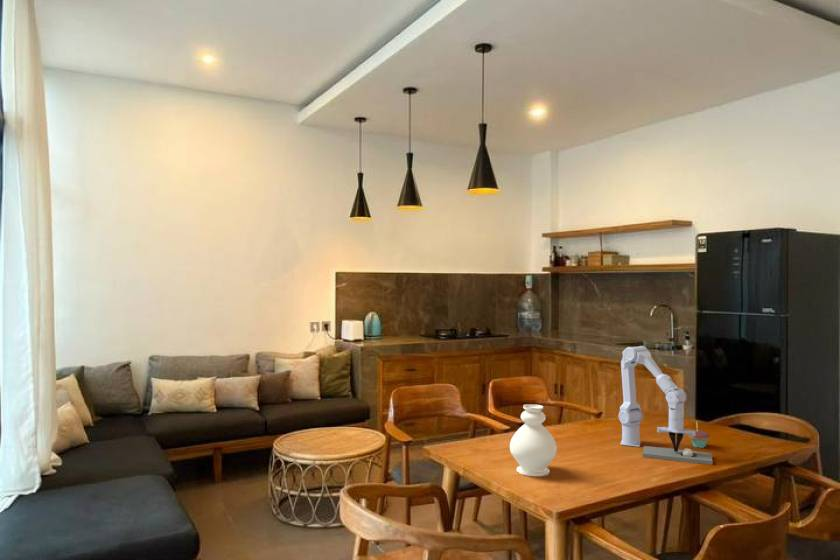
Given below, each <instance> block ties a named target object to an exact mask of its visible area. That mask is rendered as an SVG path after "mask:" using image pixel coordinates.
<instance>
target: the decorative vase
mask: <svg viewBox="0 0 840 560" xmlns="http://www.w3.org/2000/svg"><path fill="white" fill-rule="evenodd" d="M522 408H523V409H524V410H523V411H522V412H521V414H520V419H521V421H522V422H523V425H521V426H520V427H519V428H518V429H517V430H516V432H515V433H514V434H513V436H512V437H511V439H510V443H509V452H510V453H511V455H512V457H513V459H514V460H515V461H516V462H517V464H518V465H519V466H517V467H516V472H517V473H518V472H519V474H520V475H524V476H527V477H545V476H548V475H549V474H550V471H551V470H550V468H549V467H548V465H550V463H551V462H552V461H554V458H555V457H556V455H557V450H558V447H557V442H556V440H555V438H554V437H553V435H552V434H551V433H550V431H549V430H547V428H546V427H545V426H544V425H543V423H544V422H545V420H546V414H545V413H544V411H543V410H544V406H543V405H540V404H533V403H532V404H531V403H529V404H523V407H522Z"/></svg>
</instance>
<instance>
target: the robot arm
mask: <svg viewBox="0 0 840 560" xmlns="http://www.w3.org/2000/svg"><path fill="white" fill-rule="evenodd" d="M638 364H639V365H643V366H644V367H645V368H647V370H648V371H649V372H650V373H651V374H652V375H653V376H654V378H655V380H656V381H655V384H657V386H658V387H659V388H660V389H661V391H662V392H663V393H664V394H665V401H666V402H667V406H668V426H657V427H656V432H657V433H659V434H660V433H663V434H664V433H666V434H668V436H669V439H670V441H671V442H672V446H673V449H674V452H678V450H679V447H680V445H681V442H682V440H683V438H684V435H686V436H689V435H692V436H695V429H688V428H684V423H685V421H684V417H685V416H684V415H685V414H684V413H685V411H684V410H685V409H684V408H685V406H684V405H685V402H686V401H687V393H686V392H685V390H684V389H683V388H679V386H678V385H677V384H676V383H675V382H674V381H673V380H672V377H671V376H670V375H669V374H666V373H665V374H664V373H663V371H662V370H661V368H660V367H659V366H658V364H657V363H656V361H655V360H654V359H653V357H652V354H651V352H650V351H649V349H648V348H647V347H646V346H643V345H639V346H627V347H626V348H625V349H624V350H623V351H622V357H621V361H620V369H621V370H620V371H621V385H622V387H621V388H622V398H623V399H622V400H623V401H622V402H623V403H622V404H621V405H620V406H619V412H618V420H619V421H620V424H621V441H620V445H621V446H629V447H637V448H639V447H640V446H641V443H642V441H641V440H640V424H641V422H642V420H643V418H644V414H643V412H642V409H641V405H640V404H639V403H638V402H637V391H636V390H637V389H636V380H635V379H636V375H635V367H636V366H637V365H638Z"/></svg>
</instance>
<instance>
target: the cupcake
mask: <svg viewBox="0 0 840 560" xmlns="http://www.w3.org/2000/svg"><path fill="white" fill-rule="evenodd" d="M698 423H699V422H698V421H697V419H696V420H695V425H696V426H695V428H696V430H695V429H694V430H695V436H692V435H688V439H690V440H691V443H692V446H693V447H694V448H697V447H699V448H698V449H703V448H704V447H705V448H706V445H707V443H708V442H709V441H710V434H709V433H708V432H706V431H705V430H702V429H699V424H698Z"/></svg>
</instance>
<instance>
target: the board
mask: <svg viewBox="0 0 840 560" xmlns="http://www.w3.org/2000/svg"><path fill="white" fill-rule="evenodd" d="M682 451H683V449H678V452H674V448H669V447H668V448H667V447H658V446H657V447H656V446H649V445H647V446H646V445H644V446H643V451H642V458H648V459H649V458H650V459H656V460H664V459H665V461H673V460H675V461H676V462H683V463H691V464H699V463H701V464H700V465H708V464H709V465H710V466H714V465H713V463H714V462H713V456H712V453H711V452H704V451H697V450H692V452H693V455H692V456H693V457H688V456H683V455H682ZM675 461H674V462H675Z"/></svg>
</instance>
